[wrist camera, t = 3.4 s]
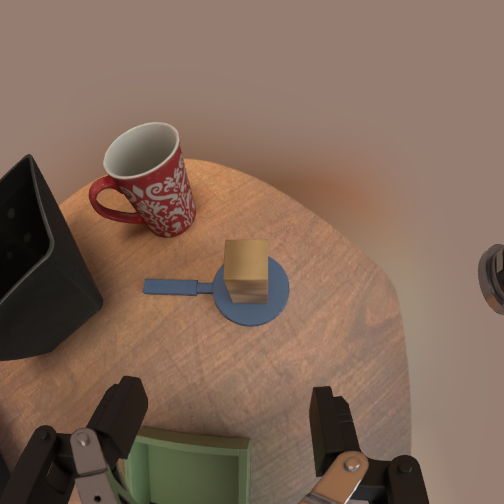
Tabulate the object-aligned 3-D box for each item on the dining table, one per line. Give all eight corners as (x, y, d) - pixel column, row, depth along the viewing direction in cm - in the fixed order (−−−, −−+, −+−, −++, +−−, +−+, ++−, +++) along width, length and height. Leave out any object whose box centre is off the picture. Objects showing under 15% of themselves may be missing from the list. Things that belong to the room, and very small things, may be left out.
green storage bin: (250, 438, 26) (247, 449, 21) (248, 524, 21) (245, 545, 16) (143, 425, 27) (122, 431, 22) (147, 509, 21) (129, 525, 16)
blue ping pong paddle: (287, 255, 36) (288, 252, 35) (289, 326, 32) (290, 324, 31) (151, 255, 36) (149, 252, 36) (141, 321, 33) (138, 319, 32)
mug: (189, 180, 42) (165, 111, 30) (213, 223, 38) (191, 152, 26) (116, 218, 40) (73, 159, 27) (131, 266, 36) (79, 211, 24)
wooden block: (267, 271, 34) (267, 239, 27) (267, 303, 32) (268, 279, 25) (234, 271, 34) (225, 239, 27) (232, 303, 32) (222, 279, 25)
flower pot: (85, 217, 40) (28, 148, 25) (135, 306, 33) (54, 246, 18) (13, 286, 35) (-53, 241, 20) (47, 382, 29) (-44, 362, 13)
